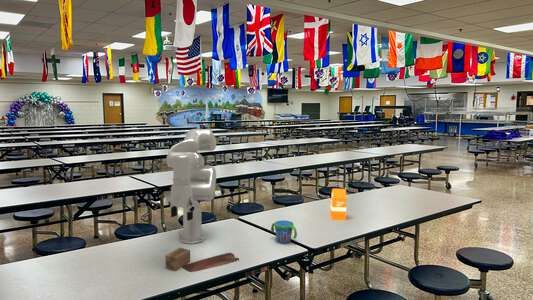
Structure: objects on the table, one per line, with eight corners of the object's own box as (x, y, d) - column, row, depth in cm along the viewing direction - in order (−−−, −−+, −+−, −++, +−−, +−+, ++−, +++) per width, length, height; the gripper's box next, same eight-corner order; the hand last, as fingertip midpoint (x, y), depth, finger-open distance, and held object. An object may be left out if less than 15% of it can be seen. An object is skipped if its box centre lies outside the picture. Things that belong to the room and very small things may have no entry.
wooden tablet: (188, 272, 155) (179, 260, 163) (187, 276, 156) (179, 265, 164) (241, 258, 170) (231, 249, 178) (240, 263, 170) (230, 253, 178)
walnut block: (165, 268, 160) (165, 255, 160) (179, 259, 169) (179, 247, 169) (176, 271, 158) (176, 258, 157) (190, 262, 167) (190, 249, 166)
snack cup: (266, 239, 197) (266, 221, 195) (278, 235, 204) (279, 217, 203) (288, 248, 186) (288, 228, 185) (300, 242, 194) (301, 224, 192)
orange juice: (345, 220, 233) (347, 190, 231) (331, 220, 234) (333, 189, 231) (343, 216, 241) (344, 187, 239) (330, 216, 241) (331, 187, 239)
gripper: (161, 180, 165) (162, 217, 167) (190, 185, 156) (190, 223, 158) (173, 178, 171) (173, 213, 173) (201, 182, 163) (201, 219, 165)
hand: (181, 218), depth 166 cm, fingers open, 9 cm apart
